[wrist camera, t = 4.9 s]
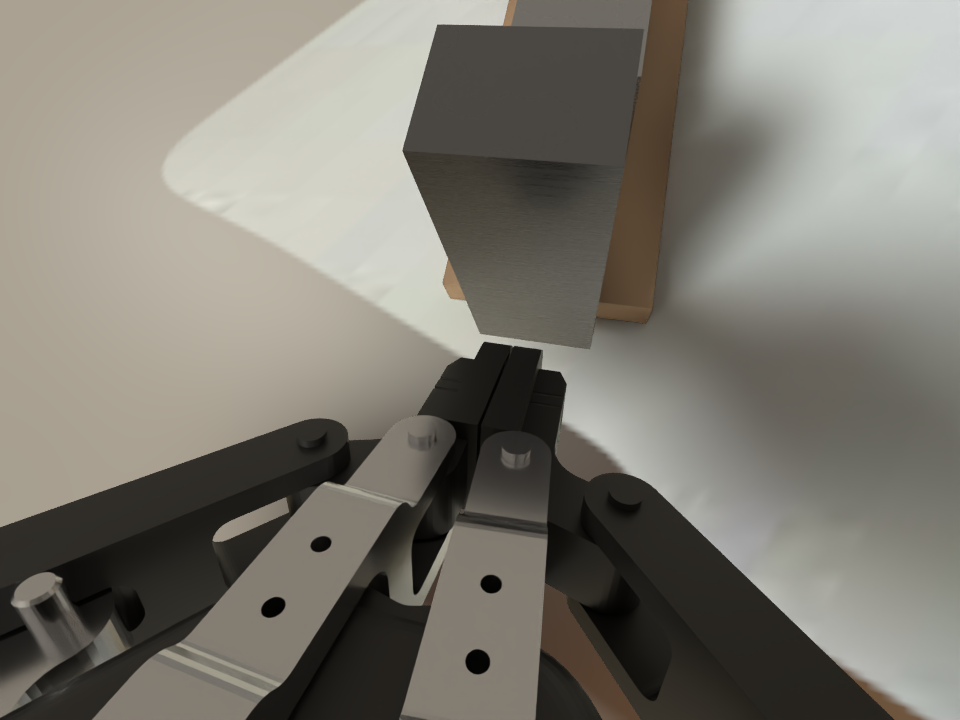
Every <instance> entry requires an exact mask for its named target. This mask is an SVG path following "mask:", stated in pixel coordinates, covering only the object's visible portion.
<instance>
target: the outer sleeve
mask: <svg viewBox="0 0 960 720" xmlns="http://www.w3.org/2000/svg"><path fill="white" fill-rule="evenodd" d="M651 5H652V0H517V3H516V7H515V11H514V16H513V20H512V24H511V26H531V27H579V28H628V29H644V34H643V41H642V48H641V55H640V62H639V69H638V76H637V83H636V90H635V97H634V104H633V111H632V118H631V125H630V132H629V139H628V145H629V140H630V134H631V129H632V124H633V118H634V113H635V108H636V103H637V97H638V92H639V87H640V81H641V76H642V69H643V62H644V55H645V47H646V40H647V33H648V26H649V19H650V12H651ZM627 150H628V146H627ZM626 155H627V153H626ZM625 161H626V160H625Z"/></svg>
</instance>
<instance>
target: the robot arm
mask: <svg viewBox="0 0 960 720" xmlns="http://www.w3.org/2000/svg"><path fill="white" fill-rule="evenodd" d="M542 358H543V350H539V349H532V348H525V347H518V346H514V347H513V346H510V345H503V344H496V343H489V342H484V343H483V344H482V346H481V348H480V350H479V352H478V353H477V355H476V357H475V359H468V358H460V359H458V360H456V361H455V362H453V363H451V364H450V365H448V366H447V368H446V369H445V371H444V372H443V374H442V376H441V378H440V380H439V381H438V382H437V384H436V385H435V389H433V390H432V392H431V393H430V395H429V397H428V398H427V400H426V402H425V403H424V405H423V406H422V408H421V410H420V411H419V413H418V415H417V416H412V417H408V418H405V419H403V420H401V421H399V422H397V423H396V424H394V425H393V426H392V427H391V429H390V430H389V431H388V432H387V433H386V435H385V436H384V437H383V438H382V439H374V440H353V441H349V439H348V432H347V429H346V428H345V427H344V426H343V425H342V424H341V423H339V422H337V421H334V420H330V419H309V420H304V421H301V422H298V423H295V424H292V425H290V426H287V427H284V428H281V429H278V430H275V431H272V432H270V433H267V434H264V435H261V436H258V437H255V438H253V439H250V440H247V441H244V442H241V443H238V444H236V445H233V446H230V447H227V448H224V449H221V450H219V451H216V452H213V453H210V454H208V455H204V456H201V457H199V458H196V459H193V460H190V461H187V462H184V463H182V464H179V465H176V466H173V467H170V468H167V469H165V470H162V471H159V472H156V473H153V474H150V475H148V476H145V477H142V478H139V479H137V480H134V481H131V482H128V483H125V484H122V485H119V486H116V487H114V488H111V489H108V490H105V491H102V492H99V493H97V494H94V495H91V496H88V497H85V498H82V499H79V500H77V501H74V502H71V503H68V504H65V505H63V506H60V507H57V508H54V509H51V510H48V511H45V512H43V513H40V514H37V515H34V516H31V517H28V518H26V519H23V520H20V521H17V522H14V523H11V524H9V525H6V526H3V527H0V720H602V719H601V717H600V715H599V713H598V712H597V710H596V708H595V706H594V705H593V703H592V701H591V700H590V698H589V696H588V695H587V694H586V692H585V691H584V689H583V688H582V687H581V685H580V684H579V683H578V681H577V680H576V679H575V678H574V677H573V676H572V675H571V674H570V672H569V671H568V670H567V669H566V668H565V667H564V666H562V665H561V664H560V663H559V662H558V661H557V660H556V659H555V658H553V657H552V656H550V655H549V654H548V653H546V652H545V651H543V650H542V649H541V648H540V643H541V627H542V613H543V598H544V583H546V584H548V585H550V586H552V587H553V588H555V589H557V590H559V591H561V592H562V593H564V594H566V595H567V604H568V606H569V609H570V611H571V613H572V614H573V616H574V617H575V619H576V621H577V622H578V623H579V625H580V627H581V628H582V630H583V631H584V633H585V634H586V636H587V637H588V639H589V640H590V642H591V644H592V645H593V646H594V648H595V650H596V651H597V653H598V654H599V656H600V657H601V659H602V661H603V662H604V664H605V665H606V667H607V668H608V670H609V671H610V673H611V674H612V676H613V677H614V679H615V680H616V682H617V684H618V685H619V687H620V688H621V690H622V691H623V693H624V694H625V696H626V697H627V699H628V700H629V702H630V704H631V705H632V707H633V708H634V709H635V711H636V713H637V714H638V716H639V717H640V719H641V720H894V719H893V718H892V717H891V716H890V715H889V714H888V713H887V712H886V711H885V710H884V709H883V708H882V707H881V706H880V705H879V704H877V702H875V701H874V700H873V699H872V698H871V697H870V696H869V695H868V694H867V693H866V692H865V691H864V690H863V689H862V688H861V687H860V686H859V685H858V684H857V683H856V682H855V681H854V680H853V679H852V678H851V677H850V676H848V675H847V674H846V673H845V672H844V671H843V670H842V669H841V668H840V667H839V666H838V665H837V664H836V663H835V662H834V661H833V660H832V659H831V658H830V657H829V656H828V655H827V654H826V653H825V652H824V651H823V650H822V649H820V648H819V647H818V646H817V645H816V644H815V643H814V642H813V641H812V640H811V639H810V638H809V637H808V636H807V635H806V634H805V633H804V632H803V631H802V630H801V629H800V628H799V627H798V626H797V625H796V624H795V623H794V622H792V621H791V620H790V619H789V618H788V617H787V616H786V615H785V614H784V613H783V612H782V611H781V610H780V609H779V608H778V607H777V606H776V605H775V604H774V603H773V602H772V601H771V600H770V599H769V598H768V597H767V596H765V595H764V594H763V593H762V592H761V591H760V590H759V589H758V588H757V587H756V586H755V585H754V584H753V583H752V582H751V581H750V580H749V579H748V578H747V577H746V576H745V575H744V574H743V573H742V572H741V571H740V570H739V569H737V568H736V567H735V566H734V565H733V564H732V563H731V562H730V561H729V560H728V559H727V558H726V557H725V556H724V555H723V554H722V553H721V552H720V551H719V550H718V549H717V548H716V547H715V546H714V545H713V544H712V543H711V542H709V541H708V540H707V539H706V538H705V537H704V536H703V535H702V534H701V533H700V532H699V531H698V530H697V529H696V528H695V527H694V526H693V525H692V524H691V523H690V522H689V521H688V520H687V519H686V518H685V517H684V516H682V515H681V514H680V513H679V512H678V511H677V510H676V509H675V508H674V507H673V506H672V505H671V504H670V503H669V502H668V501H667V500H666V499H665V498H664V497H663V496H662V495H661V494H660V493H659V492H658V491H657V490H656V489H654V488H653V487H652V486H651V485H649V484H648V483H646V482H645V481H643V480H641V479H639V478H636V477H634V476H631V475H627V474H621V473H608V474H602V475H599V476H597V477H595V478H593V479H592V480H591V481H590V482H588V481H585V480H583V479H581V478H579V477H577V476H575V475H573V474H572V473H570V472H569V471H567V470H566V469H565V468H564V467H563V466H562V465H561V464H560V463H559V461H558V460H557V457H556V453H557V447H558V442H559V436H560V430H561V423H562V415H563V408H564V400H565V393H566V385H567V384H566V382H565V380H564V378H563V376H562V374H561V373H560V372H557V371H550V370H543V369H541V368H542ZM285 497H286V498H287V503H288V508H289V513H287V514H285V515H282V516H280V517H278V518H276V519H274V520H271V521H269V522H267V523H265V524H262V525H260V526H258V527H256V528H254V529H251V530H249V531H247V532H245V533H242V534H240V535H238V536H235V537H233V538H231V539H229V540H226V541H223V542H213V541H212V540H213V536H214V535H215V533H216V531H217V530H218V529H219V528H220V527H221V526H222V525H224V524H225V523H227V522H229V521H231V520H233V519H235V518H238V517H240V516H242V515H245V514H247V513H250V512H252V511H254V510H257V509H259V508H261V507H263V506H265V505H268V504H270V503H273V502H275V501H277V500H280V499H282V498H285ZM461 509H465V511H464V514H460V511H461ZM444 558H445V559H444ZM443 560H444V562H443ZM442 562H443V566H442V570H441V573H440V577H439V581H438V584H437V588H436V591H435V595H434V598H433V602H432V606H422V604H423V602H424V600H425V598H426V596H427V594H428V591H429V589H430V587H431V585H432V583H433V581H434V579H435V577H436V574H437V572H438V570H439V568H440V566H441V564H442Z"/></svg>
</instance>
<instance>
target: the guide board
mask: <svg viewBox="0 0 960 720" xmlns="http://www.w3.org/2000/svg"><path fill="white" fill-rule="evenodd" d="M516 3H517V0H509V3H508V7H507V11H506V15H505V20H504V24H503V26H511V24H512V20H513V16H514V11H515V7H516ZM687 7H688V0H652V5H651V12H650V19H649V26H648V33H647V40H646V47H645V55H644V62H643V69H642V76H641V81H640V87H639V92H638V97H637V103H636V108H635V113H634V118H633V124H632V129H631V134H630V140H629V145H628V150H627V155H626V161H625V167H624V172H623V177H622V182H621V188H620V193H619V198H618V204H617V209H616V214H615V219H614V225H613V230H612V235H611V241H610V246H609V251H608V256H607V262H606V267H605V272H604V277H603V283H602V288H601V293H600V299H599V304H598V309H597V314H596V317H599V318H607V319H615V320H623V321H631V322H638V323H646V322H647V320H648V317H649V315H650V313H651V311H652V308H653V299H654V291H655V282H656V274H657V265H658V256H659V248H660V239H661V231H662V222H663V213H664V205H665V196H666V188H667V179H668V170H669V162H670V153H671V145H672V136H673V127H674V119H675V110H676V102H677V93H678V84H679V76H680V67H681V59H682V50H683V41H684V33H685V24H686V15H687ZM443 285H444V287H445V289H446V291H447V293H448V295H449V297H450V298H452V299H459V300H466V299H465V296H464V294H463V292H462V289H461V287H460V285H459V282H458V280H457V278H456V275H455V273H454V271H453V268H452V266H451V264H450V261H449V259H448V262H447V266H446V270H445V275H444V279H443Z"/></svg>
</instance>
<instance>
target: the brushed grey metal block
mask: <svg viewBox="0 0 960 720" xmlns="http://www.w3.org/2000/svg"><path fill="white" fill-rule="evenodd" d="M643 34H644V29H628V28H579V27H531V26H483V25H437V28H436V32H435V35H434V39H433V42H432V46H431V50H430V53H429V57H428V60H427V64H426V68H425V71H424V75H423V78H422V82H421V86H420V89H419V93H418V96H417V100H416V104H415V107H414V111H413V114H412V118H411V121H410V125H409V129H408V132H407V136H406V139H405V143H404V147H403V150H402V151H403V153H404V156H405V158H406V160H407V163H408V165H409V167H410V170H411V172H412V174H413V177H414V179H415V182H416V184H417V186H418V189H419V191H420V193H421V196H422V198H423V200H424V203H425V205H426V207H427V210H428V212H429V214H430V217H431V219H432V221H433V224H434V226H435V228H436V231H437V233H438V235H439V238H440V240H441V243H442V245H443V247H444V250H445V252H446V254H447V257H448V259H449V261H450V264H451V266H452V268H453V271H454V273H455V275H456V278H457V280H458V282H459V285H460V287H461V289H462V292H463V294H464V296H465V299H466V301H467V304H468V306H469V308H470V311H471V313H472V315H473V318H474V320H475V322H476V325H477V327H478V329H479V332H480V334H486V335H493V336H500V337H507V338H514V339H521V340H528V341H535V342H543V343H550V344H557V345H564V346H571V347H578V348H585V349H590V346H591V341H592V335H593V330H594V325H595V320H596V314H597V309H598V304H599V299H600V293H601V288H602V283H603V277H604V272H605V267H606V262H607V256H608V251H609V246H610V241H611V235H612V230H613V225H614V219H615V214H616V209H617V204H618V198H619V193H620V188H621V182H622V177H623V172H624V167H625V160H626V153H627V146H628V139H629V132H630V125H631V118H632V111H633V104H634V97H635V90H636V83H637V76H638V69H639V62H640V55H641V48H642V41H643Z"/></svg>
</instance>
